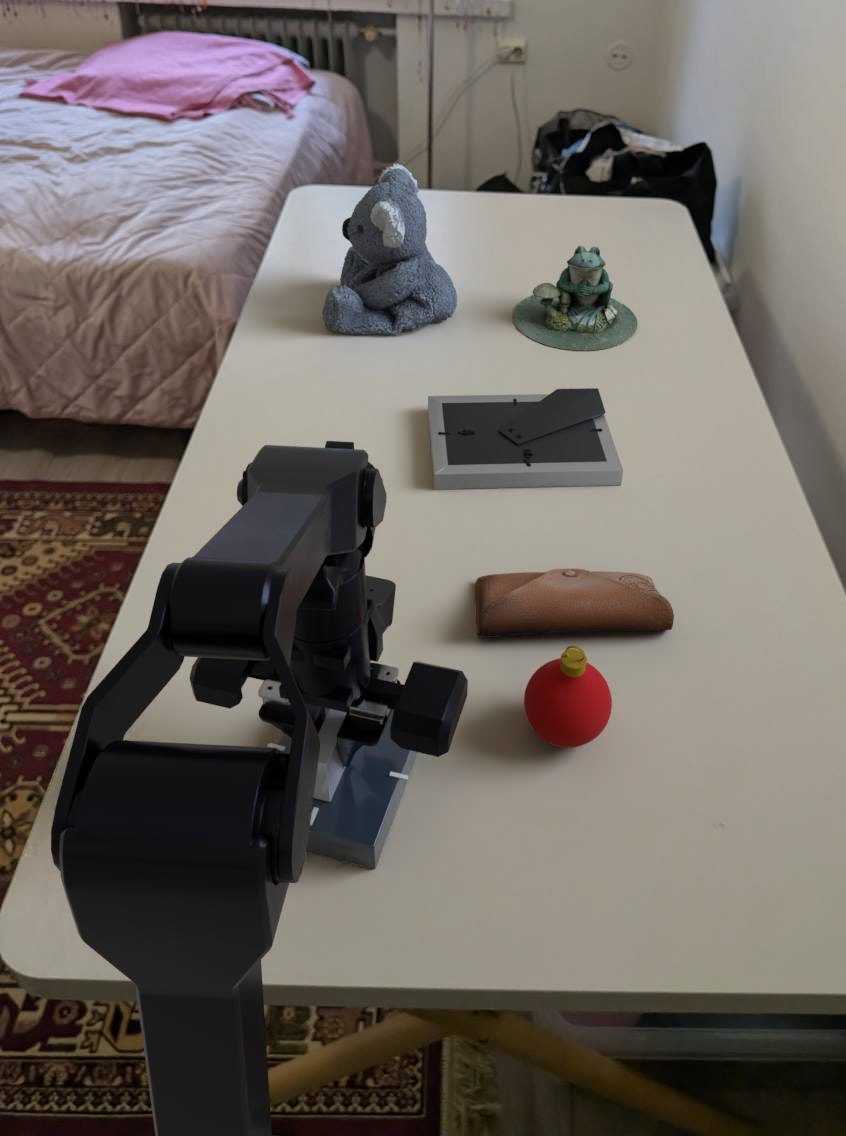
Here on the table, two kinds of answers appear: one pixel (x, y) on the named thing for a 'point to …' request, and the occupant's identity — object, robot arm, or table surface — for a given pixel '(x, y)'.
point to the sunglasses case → (568, 603)
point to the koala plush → (389, 265)
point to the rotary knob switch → (360, 802)
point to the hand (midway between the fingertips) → (336, 758)
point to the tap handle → (329, 757)
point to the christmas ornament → (568, 700)
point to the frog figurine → (576, 308)
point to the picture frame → (522, 441)
